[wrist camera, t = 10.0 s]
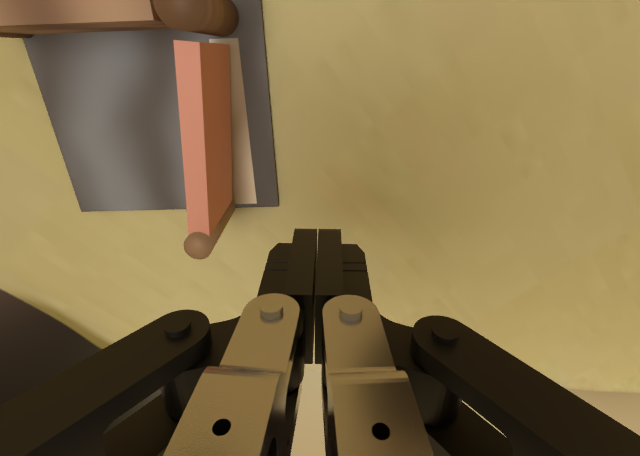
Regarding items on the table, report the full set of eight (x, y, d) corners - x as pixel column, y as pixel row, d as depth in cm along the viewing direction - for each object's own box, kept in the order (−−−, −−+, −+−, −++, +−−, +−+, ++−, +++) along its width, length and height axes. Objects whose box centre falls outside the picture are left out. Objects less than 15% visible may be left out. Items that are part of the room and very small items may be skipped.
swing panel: (206, 42, 22) (165, 39, 17) (232, 44, 22) (201, 42, 17) (213, 214, 27) (184, 258, 22) (235, 216, 27) (212, 260, 22)
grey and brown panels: (258, -35, 21) (228, -75, 15) (278, 205, 28) (264, 253, 21) (-4, -24, 22) (-152, -59, 15) (77, 210, 28) (-1, 260, 21)
